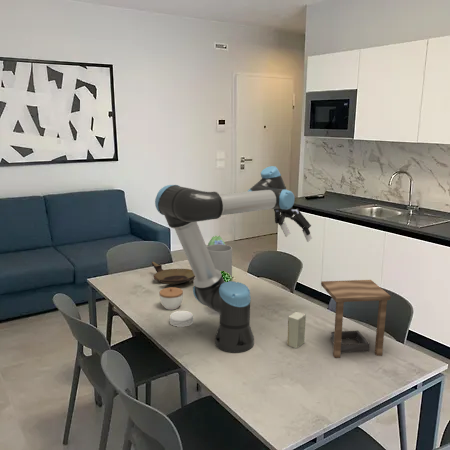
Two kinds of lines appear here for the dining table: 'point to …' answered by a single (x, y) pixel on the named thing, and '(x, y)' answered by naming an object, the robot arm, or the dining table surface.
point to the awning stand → (352, 293)
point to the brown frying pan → (172, 275)
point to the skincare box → (296, 329)
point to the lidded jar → (171, 297)
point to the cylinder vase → (221, 257)
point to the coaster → (181, 318)
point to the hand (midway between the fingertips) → (298, 237)
